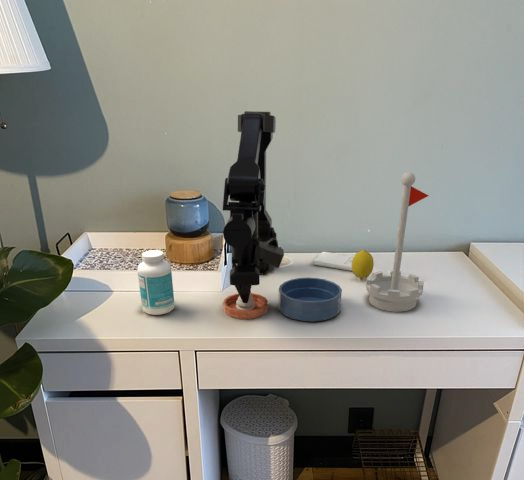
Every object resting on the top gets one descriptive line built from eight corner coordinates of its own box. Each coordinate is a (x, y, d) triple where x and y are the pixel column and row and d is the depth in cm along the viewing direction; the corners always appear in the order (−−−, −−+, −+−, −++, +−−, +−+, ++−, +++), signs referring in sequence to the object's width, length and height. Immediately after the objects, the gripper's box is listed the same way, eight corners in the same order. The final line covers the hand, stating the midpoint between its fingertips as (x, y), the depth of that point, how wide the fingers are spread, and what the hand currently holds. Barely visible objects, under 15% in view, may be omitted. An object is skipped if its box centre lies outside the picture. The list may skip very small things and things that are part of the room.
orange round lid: (215, 313, 126) (214, 305, 125) (237, 297, 134) (236, 289, 133) (254, 323, 122) (254, 314, 121) (275, 305, 130) (275, 297, 129)
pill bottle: (180, 305, 130) (176, 249, 124) (165, 318, 124) (160, 260, 118) (151, 300, 132) (146, 246, 126) (136, 313, 126) (129, 256, 120)
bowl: (268, 314, 126) (268, 294, 123) (293, 292, 137) (294, 273, 135) (327, 328, 120) (328, 307, 118) (348, 303, 131) (350, 284, 129)
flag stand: (375, 315, 126) (390, 180, 111) (357, 292, 137) (369, 166, 122) (429, 311, 128) (451, 178, 113) (408, 289, 139) (425, 165, 124)
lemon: (358, 285, 141) (361, 254, 137) (346, 277, 146) (348, 248, 142) (376, 281, 144) (379, 251, 140) (363, 274, 148) (366, 245, 144)
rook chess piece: (256, 304, 130) (256, 272, 126) (254, 312, 126) (253, 279, 122) (237, 303, 130) (236, 271, 126) (234, 311, 126) (233, 278, 122)
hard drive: (322, 256, 160) (365, 262, 155) (312, 265, 153) (356, 272, 149) (323, 250, 159) (365, 257, 155) (313, 259, 153) (357, 266, 148)
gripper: (284, 246, 111) (282, 317, 119) (280, 220, 128) (278, 283, 135) (228, 247, 111) (230, 317, 119) (231, 220, 127) (233, 283, 135)
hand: (245, 299), depth 127 cm, fingers closed on rook chess piece, 3 cm apart
